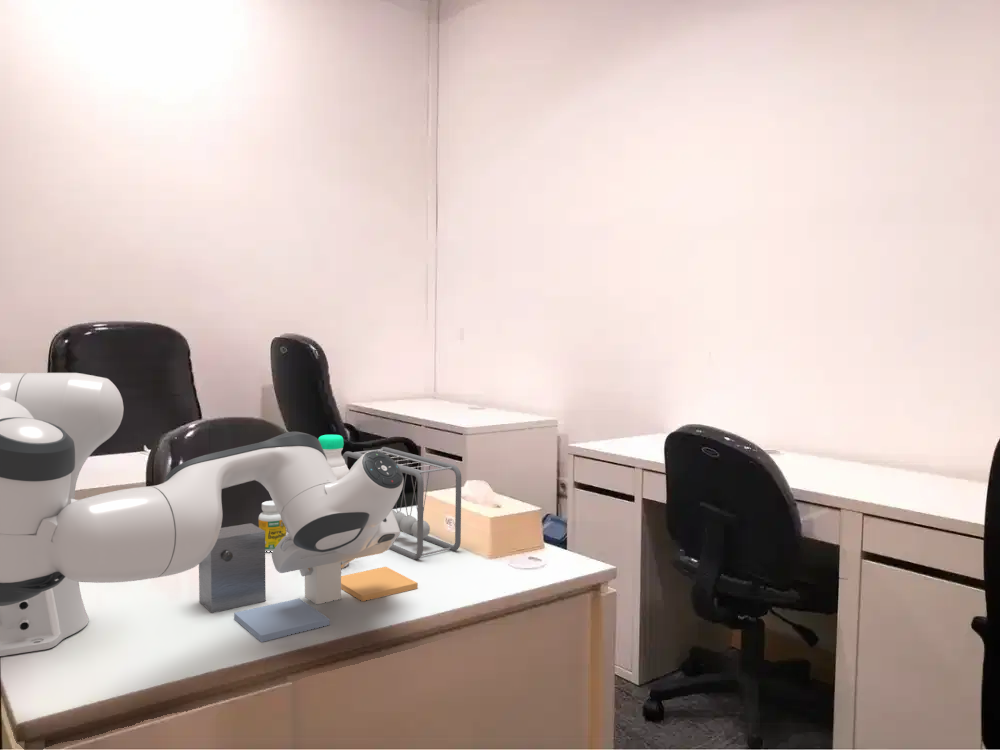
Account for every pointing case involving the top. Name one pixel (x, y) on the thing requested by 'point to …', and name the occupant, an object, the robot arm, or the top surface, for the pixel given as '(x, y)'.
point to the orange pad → (376, 583)
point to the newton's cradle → (420, 502)
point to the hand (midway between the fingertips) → (321, 568)
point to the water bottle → (334, 455)
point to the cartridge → (324, 583)
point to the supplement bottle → (271, 525)
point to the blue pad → (280, 619)
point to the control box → (234, 569)
